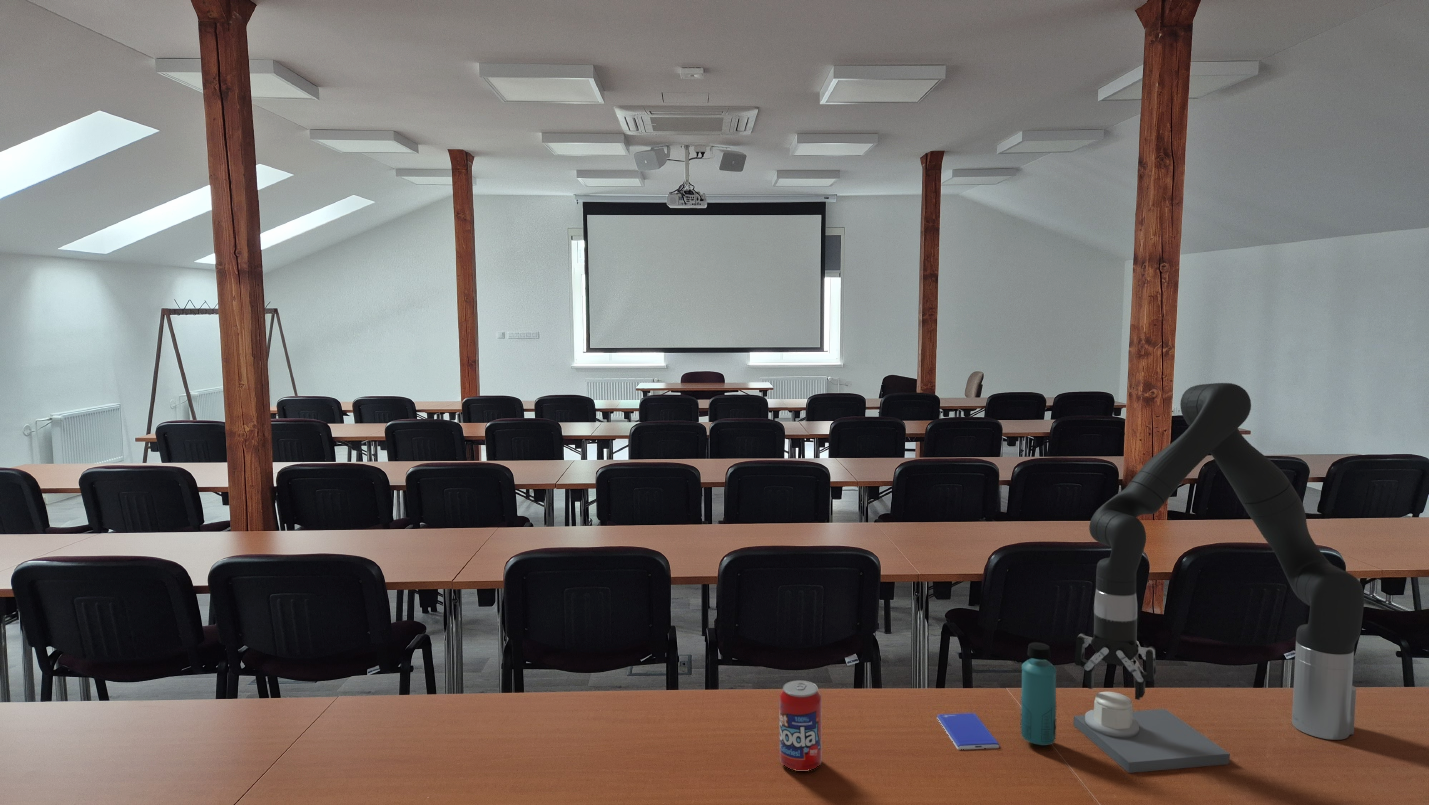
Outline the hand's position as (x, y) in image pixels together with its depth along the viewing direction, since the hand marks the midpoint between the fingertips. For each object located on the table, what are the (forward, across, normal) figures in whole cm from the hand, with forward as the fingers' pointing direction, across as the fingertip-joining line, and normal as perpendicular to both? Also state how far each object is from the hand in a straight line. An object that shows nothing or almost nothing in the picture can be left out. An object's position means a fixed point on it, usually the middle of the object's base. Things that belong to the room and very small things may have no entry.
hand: (1114, 692), depth 162 cm
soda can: (+8, +44, +45) cm, 64 cm away
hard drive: (+9, +24, +16) cm, 30 cm away
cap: (+6, 0, 0) cm, 6 cm away
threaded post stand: (+9, -6, -1) cm, 11 cm away
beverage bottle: (+9, +11, +12) cm, 19 cm away
